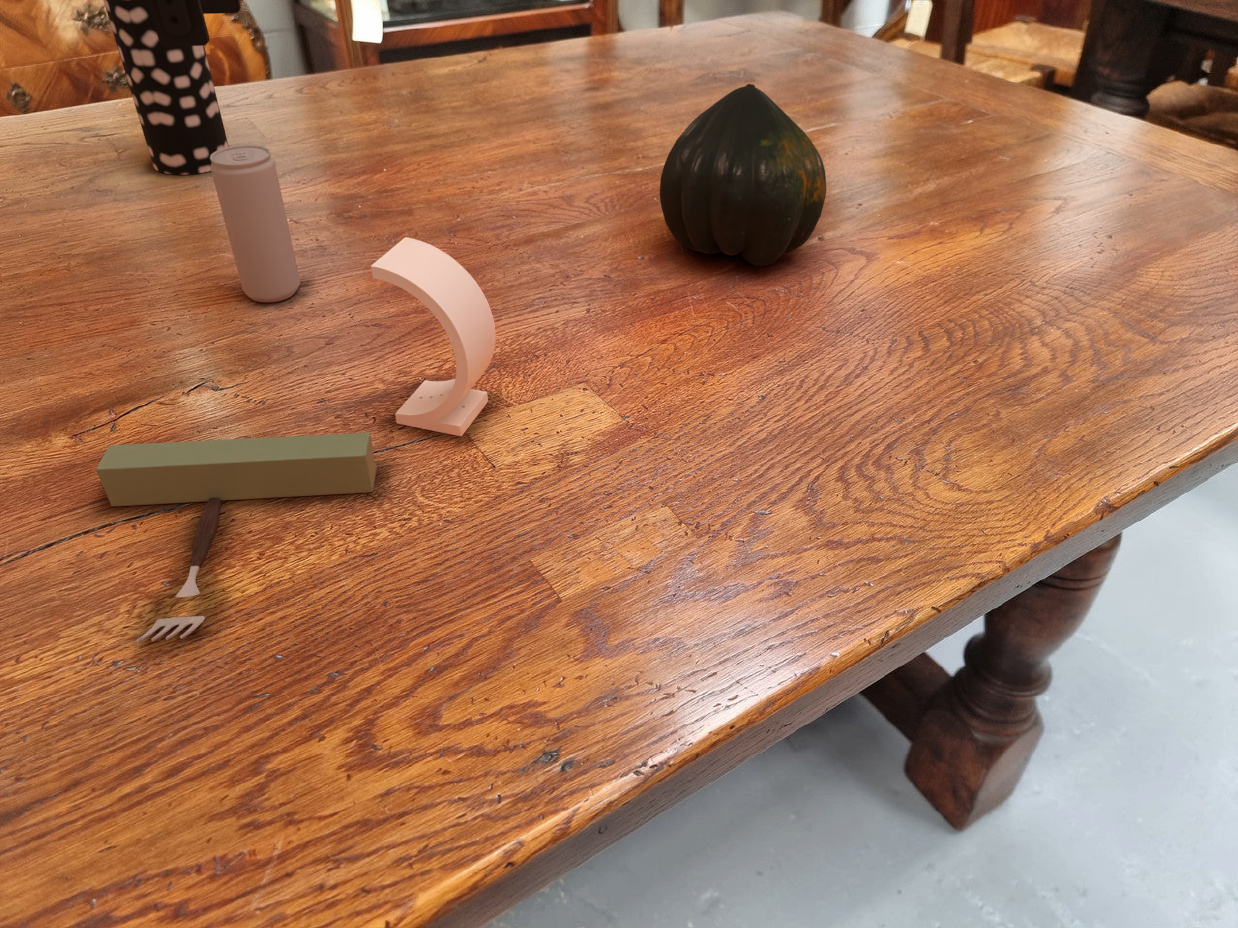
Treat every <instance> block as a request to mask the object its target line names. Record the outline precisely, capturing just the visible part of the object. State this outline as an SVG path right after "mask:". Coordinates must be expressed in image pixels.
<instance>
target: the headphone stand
mask: <svg viewBox="0 0 1238 928" xmlns="http://www.w3.org/2000/svg"><path fill="white" fill-rule="evenodd" d="M370 268H371V276H372V279H375V280H380V281H383V282H386V283H389V284H391V285H394V286H397V287H398V288H401V290H404V291H405V292H407V293H409V294H410V295H411V296H413V297H414V298H416V300H418V301H419V302H421V303H422V304H423V305H424V306H425V308H427V309H428V310H429V311H430V312H431V314H432V315H433V316H434V317H435V318H436V319H437V321H438V322H439V324H440V325H441V326H442V328H443V330H444V332H445V333H446V335H447V338H448V339H449V342H450V345H451V348H452V350H453V354H454V361H455V378H452V379H447V380H426V379H424V381H422V383H421V384H420V385H419V386H418V387H417V388H416V390H414V391H413V393H412V394H411V395H410V396H409V397H408V398H407V400H406V401H405V402H404V403H403V404H402V405H401V406H400V408H399V409H398V410H397V411H396V412H395V413H394V414H395V415H394V417H395V422H396V424H399V425H403V426H408V427H413V428H417V429H418V428H419V429H423V430H428V431H433V432H436V433H437V432H438V433H442V434H447V435H454V436H458V437H463V435H464V434H465V433H466V431H467V430H468V428H469V427H470V426H471V425H472V424H473V422H474V421H475V420H476V418H477V417H478V416H479V414H480V413H481V412H482V410H483V409H484V408H485V406H486V405H487V403H489V395H488V391H484V390H479V389H474V388H473V387H474V385H475V384H476V383H477V382H478V380H479V379H480V378H481V377H482V376H483V374H484V373H485V372H486V370H487V369H488V368H489V366H490V364H491V362H492V361H493V356H494V354H495V349H496V343H497V342H496V340H497V338H496V337H497V335H496V333H497V332H496V325H495V320H494V315H493V312H492V310H491V307H490V304H489V302H488V300H487V297H486V296H485V294H484V292H483V290H482V289H481V287H480V286H479V285H478V283H477V281H476V280H475V278H473V276H472V275H471V274H470V273H469V272H468V271H467V270H466V268H465V267H464V266H463V265H462V264H460V263H459V262H458V261H457V260H456V259H455V258H453V257H452V256H451V255H449V254H448V253H447V252H444V251H443V250H441V248H440V249H439V248H438V247H436V246H434V245H433V244H429V243H428V242H425V241H422V240H419V239H416V238H412V237H408V236H407V237H406V236H405V237H404V238H403V239H401V240H400V241H399V242H398V243H396V244H395V245H394V246H392V248H390V250H388V251H387V252H385V253H384V254H383V255H382V256H381V257H380V258H378V259H377V260H376V261H375V262H373V263H372V264H371V265H370Z"/></svg>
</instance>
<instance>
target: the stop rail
mask: <svg viewBox="0 0 1238 928" xmlns="http://www.w3.org/2000/svg"><path fill="white" fill-rule="evenodd" d="M377 469H378V468H377V461H376V458H375V452H374V447H373V442H372V437H371V433H370V432H352V433H351V432H350V433H330V434H311V435H310V434H309V435H307V434H306V435H289V436H288V435H287V436H271V437H251V438H247V437H246V438H233V439H232V438H227V439H226V438H225V439H209V440H206V439H205V440H189V441H188V440H187V441H170V442H169V441H167V442H147V443H129V444H110V445H108V446H107V449H106V451H105V452H104V453H103V456H102V457H101V459H100V461H99V463H98V465H97V466H96V469H95V471H96V473H97V476H98V478H99V481H100V482H101V485H102V487H103V490H104V492H105V494H106V498H107V499H108V501H109V503H110V506H111V507H130V506H131V507H132V506H147V505H149V506H150V505H166V504H182V503H183V504H184V503H186V504H187V503H201V502H203V503H204V502H208V501H209V498H220V499H221V502H222V501H238V500H256V499H257V500H258V499H273V498H274V499H275V498H276V499H277V498H292V497H294V498H295V497H309V496H313V497H314V496H330V495H345V494H346V495H347V494H348V495H349V494H365V493H366V494H367V493H373V491H374V487H375V481H376V476H377V475H376V474H377Z"/></svg>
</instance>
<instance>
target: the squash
mask: <svg viewBox="0 0 1238 928" xmlns="http://www.w3.org/2000/svg"><path fill="white" fill-rule="evenodd" d="M825 169H826V168H825V165H824V161H823V158H822V156H821V154H820V152H819V150H818V149H817V147H816V146H815V144H814V143H813V141H812V140H811V138H810V137H809V136H808V135H807V133H806V132H805V131H804V130H803V129H802V128H801V127H800V126H799V125H798V124H797V123H796V122H795V121H794V120H793V119H792V118H791V117H790V116H789V115H788V114H787V113H786V112H785V111H784V110H783V109H782V108H781V107H780V106H779V105H777V104H776V103H775V102H774V101H773V99H772V98H771V97H769V96H768V95H767V94H766V93H765V92H764V91H762V90H761V89H759V88H758V87H756V85H755V84H753V83H747V84H745V86H740V87H738V88H735V89H733V90H732V91H730V92H729V93H727V94H725V95H724V96H722V98H720V99H719V100H717V101H716V102H714V103H713V104H712V105H711V106H710V107H708V108H707V109H706V110H704V111H703V112H702V113H700V114H698V115H697V117H695V118H694V120H692V121H691V122H690V123H689V124H688V126H687V127H686V128H685V129H684V130H683V132H682V133H680V135H679V136H678V138H677V139H676V140H675V142H674V144H673V146H672V147H671V149H670V151H669V152H668V155H667V157H666V160H665V162H664V165H663V167H662V171H661V176H660V180H659V181H660V182H659V183H660V184H659V201H660V207H661V211H662V215H663V219H664V222H665V224H666V227H667V228H668V230H669V232H670V234H671V236H672V237H673V238H674V239H675V240H676V241H677V242H678V243H679V244H680V245H682V247H684V248H687V249H689V250H691V251H695V252H701V253H703V254H706V255H715V254H717V253H720V252H722V253H723V254H725V255H729V256H736V255H739V254H741V256H742V257H743V258H744V260H745V261H746V262H748V263H749V264H751V265H753V266H759V267H764V266H765V267H766V266H769V265H772V264H774V263H775V262H777V260H778V259H779V258H780V257H781V256H782V255H787V254H789V253H793V252H794V251H796V250H798V249H800V248H801V247H802V246H803V245H804V244H806V243H807V241H808V240H809V239H810V238H811V235H812V234H813V232H814V231H815V230H816V226H817V225H818V222H819V220H820V218H821V216H822V212H823V208H824V205H825V201H826V197H827V177H826V170H825Z"/></svg>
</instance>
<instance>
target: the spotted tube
mask: <svg viewBox="0 0 1238 928" xmlns="http://www.w3.org/2000/svg"><path fill="white" fill-rule="evenodd" d="M102 1H103V4H104V8H105V10H106V14H107V17H108V20H109V24H110V27H111V30H112V34H113V37H114V41H115V44H116V47H117V50H118V54H119V57H120V59H121V63H122V66H123V67H122V68H123V70H124V73H125V77H126V80H127V83H128V87H129V91H130V94H131V96H132V100H133V103H134V107H135V110H136V113H137V117H138V120H139V123H140V127H141V130H142V133H143V136H144V140H145V143H146V146H147V149H148V154H149V157H150V160H151V163H152V166H153V168H154V170H155V171H157V172H158V173H159V172H160V173H162V174H167V175H176V176H177V175H178V176H179V175H180V176H183V175H186V176H187V175H196V174H203V173H208V172H211V163H212V162H211V160H210V156H211V154H212V153H214V152H215V151H217V150H220V149H223V148H226V147H230V145H229V142H228V137H227V134H226V129H225V126H224V120H223V118H222V113H221V108H220V105H219V101H218V97H217V93H216V90H215V85H214V80H213V77H212V73H211V68H210V64H209V60H208V56H207V53H206V49H205V45H204V46H174V47H165V46H163V45H162V44H161V43H160V42H159V39H158V35H157V32H156V28H155V25H154V22H153V18H152V15H151V11H150V8H149V4H148V1H147V0H102Z"/></svg>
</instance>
